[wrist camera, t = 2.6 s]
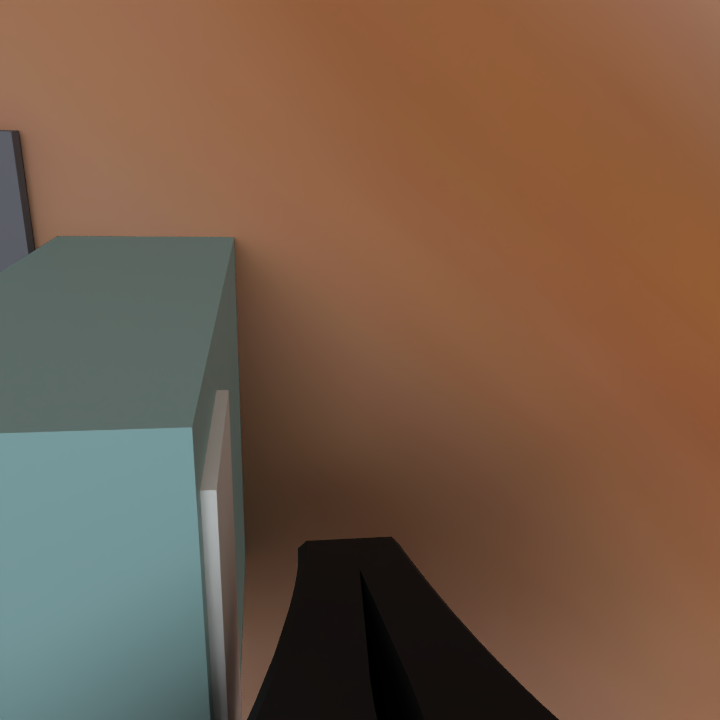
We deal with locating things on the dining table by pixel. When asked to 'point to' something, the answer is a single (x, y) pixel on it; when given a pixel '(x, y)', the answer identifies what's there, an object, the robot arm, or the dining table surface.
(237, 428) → the slab
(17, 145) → the mat
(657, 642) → the dining table surface
